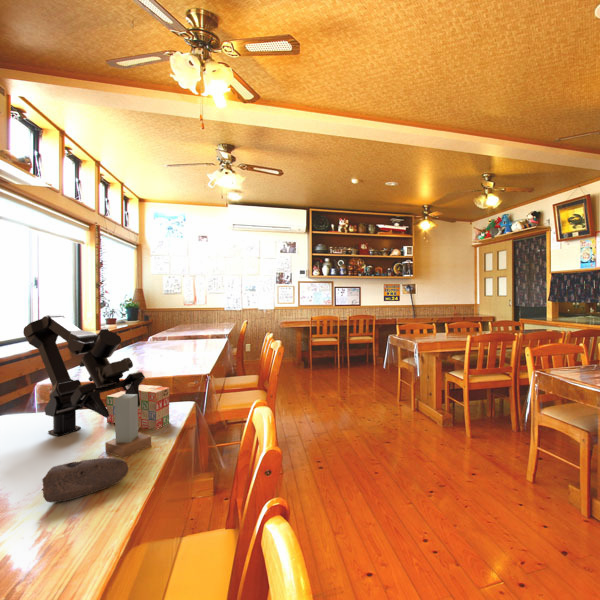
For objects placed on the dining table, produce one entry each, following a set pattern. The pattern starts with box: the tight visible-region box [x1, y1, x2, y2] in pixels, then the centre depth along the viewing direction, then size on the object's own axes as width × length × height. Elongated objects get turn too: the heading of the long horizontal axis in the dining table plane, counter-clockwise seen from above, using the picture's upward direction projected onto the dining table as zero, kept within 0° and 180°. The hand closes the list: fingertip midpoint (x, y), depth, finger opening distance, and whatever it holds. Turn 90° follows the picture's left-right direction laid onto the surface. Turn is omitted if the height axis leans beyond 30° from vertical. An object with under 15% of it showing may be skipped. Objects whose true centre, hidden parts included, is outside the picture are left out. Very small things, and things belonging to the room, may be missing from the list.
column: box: [114, 394, 139, 443], centre depth 85 cm, size 4×4×12 cm
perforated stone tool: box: [41, 457, 129, 503], centre depth 66 cm, size 15×5×7 cm, turn 122°
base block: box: [104, 432, 152, 459], centre depth 85 cm, size 8×8×3 cm
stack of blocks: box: [105, 384, 170, 431], centre depth 104 cm, size 21×6×12 cm, turn 72°
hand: (124, 411), depth 86 cm, fingers open, 9 cm apart
